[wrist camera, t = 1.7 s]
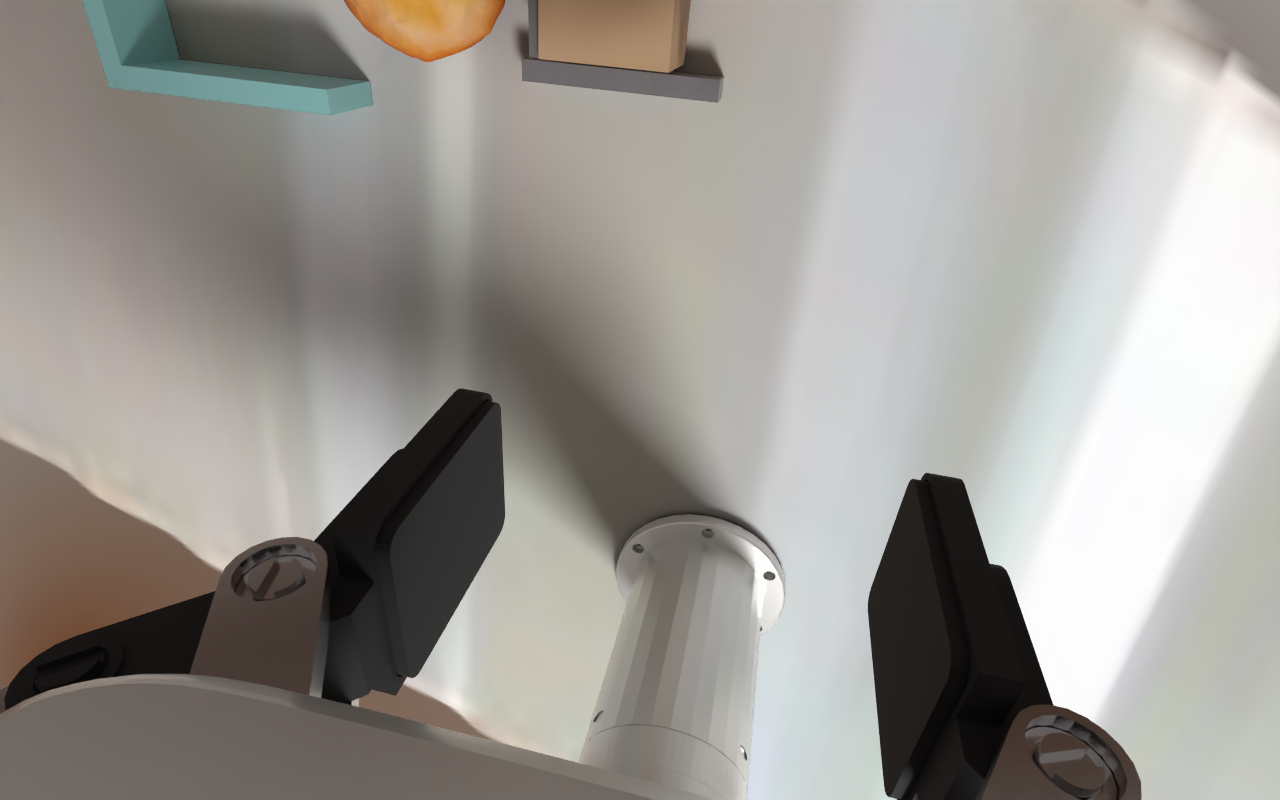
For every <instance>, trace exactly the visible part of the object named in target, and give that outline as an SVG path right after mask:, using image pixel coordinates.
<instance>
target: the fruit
mask: <svg viewBox="0 0 1280 800" xmlns="http://www.w3.org/2000/svg"><path fill="white" fill-rule="evenodd" d="M344 1H345V3H346V5H347V6H348V8H349V10H350V11H351V12H352V13H353V15H354V16H355V17H356V18H357V19H358V20H359V21H360V23H361V24H362V25H363V26H364V27H365V29H366V30H368V31H369V32H370V33H372V34H373V35H375V36H377V37H378V38H380V39H381V40H382V41H384V42H385V43H386V44H388V45H390V46H391V47H393V48H395V49H397V50H398V51H401V52H402V53H404V54H406V55H408V56H410V57H414V58H418V59H420V60H422V61H424V62H431V61H434V60H438V59H441V58H444V57H447V56H450V55H453V54H456V53H458V52H461V51H463V50H466V49H468V48H470V47H472V46H473V45H475V44H476V43H478V42H479V41H481V40H482V39H483V38H484V37H485V36H486V35H488V34H489V33H490V32H491V30H492V28H493V25H494V24H495V22H496V20H497V18H498V16H499V14H500V13H501V11H502V9H503V7H504V4H505V0H344Z"/></svg>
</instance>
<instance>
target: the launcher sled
mask: <svg viewBox="0 0 1280 800" xmlns="http://www.w3.org/2000/svg"><path fill="white" fill-rule="evenodd" d="M528 8H529V57H535V58H539V59H544V60H554V61H563V62H572V63H582V64H591V65H601V66H610V67H619V68H629V69H638V70H648V71H657V72H666V73H669V72H671V71H673V70H675V69H676V68H678V67H680V66H682V65H684V61H685V51H686V41H687V30H688V20H689V10H690V0H528Z"/></svg>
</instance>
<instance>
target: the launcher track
mask: <svg viewBox="0 0 1280 800" xmlns="http://www.w3.org/2000/svg"><path fill="white" fill-rule="evenodd" d="M723 80H724V77H720V76H711V75H701V74H692V73H683V72H673V71H671V72H669V73H666V72H657V71H648V70H638V69H629V68H619V67H610V66H601V65H591V64H582V63H572V62H563V61H554V60H544V59H539V58H535V57H528V58H523V59H522V81H529V82H538V83H547V84H556V85H565V86H574V87H583V88H592V89H601V90H610V91H619V92H628V93H637V94H646V95H655V96H664V97H673V98H682V99H691V100H699V101H708V102H717V103H718V102H719V100H720V99H721V95H722V87H723Z"/></svg>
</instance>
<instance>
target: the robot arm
mask: <svg viewBox="0 0 1280 800" xmlns="http://www.w3.org/2000/svg"><path fill="white" fill-rule="evenodd" d="M504 519H505V500H504V476H503V452H502V428H501V409H500V405H499V404H498V403H495V402H492V397H491V395H490V394H488V393H483V392H477V391H472V390H466V389H458V390H456V391H455V392H454V393H453V395H452V396H451V397H450V398H449V399H448V400H447V401H446V402H445V403H444V404H443V406H442V407H441V408H440V409H439V410H438V411H437V412H436V413H435V414H434V416H433V417H432V418H431V419H430V420H429V421H428V422H427V423H426V424H425V426H424V427H423V428H422V429H421V430H420V431H419V432H418V433H417V434H416V436H415V437H414V438H413V439H412V440H411V441H410V442H409V443H408V444H407V445H406V447H405V448H404V449H400V450H398V451H397V452H396V453H394V454H393V455H392V456H391V457H390V458H389V460H388V461H387V462H386V463H385V464H384V465H383V466H382V467H381V468H380V469H379V470H378V472H377V473H376V474H375V475H374V476H373V477H372V478H371V479H370V480H369V481H368V482H367V484H366V485H365V486H364V487H363V488H362V489H361V490H360V491H359V492H358V493H357V495H356V496H355V497H354V498H353V499H352V500H351V501H350V502H349V503H348V504H347V505H346V507H345V508H344V509H343V510H342V511H341V512H340V513H339V514H338V515H337V516H336V517H335V519H334V520H333V521H332V522H331V523H330V524H329V525H328V526H327V527H326V528H325V530H324V531H323V532H322V533H321V534H320V535H319V536H318V537H317V538H316V539H315V540H314V541H312V540H309V539H304V538H299V537H286V538H278V539H274V540H269V541H265V542H263V543H260V544H258V545H255V546H253V547H251V548H249V549H247V550H246V551H244V552H243V553H241V554H239V555H238V556H236V557H235V558H234V559H233V560H232V561H231V562H230V563H229V564H228V565H227V566H226V567H225V569H224V571H223V573H222V575H221V577H220V579H219V582H218V585H217V588H216V591H214V592H211V593H208V594H205V595H202V596H199V597H195V598H192V599H189V600H186V601H183V602H180V603H177V604H174V605H171V606H168V607H165V608H161V609H158V610H155V611H152V612H149V613H146V614H143V615H140V616H137V617H134V618H130V619H128V620H124V621H121V622H118V623H115V624H112V625H109V626H106V627H103V628H100V629H96V630H93V631H90V632H87V633H84V634H81V635H78V636H75V637H73V638H70V639H68V640H65V641H63V642H60V643H58V644H56V645H54V646H53V647H51V648H49V649H48V650H46V651H44V652H42V653H41V654H39V655H38V656H36V657H35V658H34V659H33V660H32V661H30V662H29V663H28V664H27V665H26V666H24V667H23V668H22V669H21V670H20V671H19V673H18V674H17V675H16V677H15V678H14V679H13V680H12V682H11V683H10V684H9V686H7V687H5V688H2V689H0V800H747V789H748V777H749V764H750V752H751V739H752V727H753V714H754V702H755V689H756V677H757V665H758V652H759V640H760V635H762V634H764V633H765V632H766V631H767V630H768V629H770V628H771V627H772V626H773V625H774V623H775V622H776V621H777V620H778V618H779V617H780V614H781V612H782V610H783V607H784V601H785V578H784V574H783V571H782V568H781V566H780V564H779V562H778V560H777V558H776V556H775V555H774V554H773V553H772V552H771V550H770V549H769V548H768V547H767V546H766V545H765V544H764V543H763V542H762V541H761V540H759V539H758V538H757V537H756V536H755V535H753V534H752V533H750V532H748V531H747V530H745V529H743V528H741V527H740V526H737V525H735V524H732V523H730V522H727V521H725V520H722V519H718V518H713V517H709V516H703V515H691V514H687V515H673V516H669V517H664V518H660V519H657V520H655V521H652V522H650V523H648V524H645V525H644V526H642V527H641V528H640V529H638V530H637V531H635V532H634V533H633V534H632V535H631V537H630V538H629V539H628V540H627V541H626V543H625V545H624V547H623V549H622V551H621V553H620V556H619V560H618V563H617V569H616V579H617V585H618V589H619V591H620V594H621V596H622V598H623V600H624V601H625V603H626V604H627V605H626V608H625V611H624V614H623V618H622V621H621V624H620V628H619V631H618V634H617V637H616V641H615V644H614V647H613V651H612V654H611V657H610V661H609V664H608V667H607V670H606V674H605V677H604V680H603V684H602V687H601V690H600V693H599V697H598V700H597V703H596V707H595V710H594V713H593V716H592V720H591V723H590V726H589V730H588V733H587V736H586V740H585V743H584V746H583V749H582V752H581V756H580V759H579V762H578V763H576V762H573V761H569V760H565V759H561V758H557V757H553V756H549V755H545V754H542V753H538V752H534V751H530V750H526V749H522V748H518V747H514V746H511V745H507V744H503V743H499V742H495V741H491V740H487V739H483V738H479V737H475V736H471V735H467V734H463V733H459V732H455V731H451V730H448V729H444V728H440V727H436V726H431V725H427V724H424V723H420V722H416V721H412V720H407V719H404V718H400V717H396V716H392V715H388V714H384V713H380V712H376V711H372V710H368V709H364V708H360V707H358V705H359V698H360V697H363V696H365V695H367V694H369V692H370V691H371V689H372V690H376V691H380V692H384V693H388V694H392V695H396V694H397V693H398V691H399V689H400V688H401V686H402V684H403V683H404V681H405V679H406V678H407V677H410V678H414V677H416V676H417V675H418V673H419V672H420V670H421V669H422V667H423V665H424V664H425V662H426V660H427V658H428V657H429V655H430V653H431V652H432V650H433V648H434V646H435V645H436V643H437V641H438V639H439V638H440V636H441V634H442V633H443V631H444V629H445V627H446V626H447V624H448V622H449V621H450V619H451V617H452V615H453V614H454V612H455V610H456V608H457V607H458V605H459V603H460V602H461V600H462V598H463V596H464V595H465V593H466V591H467V589H468V588H469V586H470V584H471V583H472V581H473V579H474V577H475V576H476V574H477V572H478V571H479V569H480V567H481V565H482V564H483V562H484V560H485V558H486V557H487V555H488V553H489V552H490V550H491V548H492V546H493V545H494V543H495V541H496V539H497V538H498V536H499V534H500V532H501V530H502V527H503V524H504ZM868 617H869V627H870V638H871V649H872V660H873V670H874V681H875V692H876V703H877V713H878V724H879V735H880V746H881V757H882V767H883V778H884V787H885V792H886V795H887V796H888V797H891V798H895V799H897V800H1141V798H1142V797H1141V781H1140V778H1139V776H1138V773H1137V771H1136V768H1135V766H1134V763H1133V762H1132V761H1131V759H1130V758H1129V756H1128V755H1127V754H1126V752H1125V751H1124V749H1123V748H1122V747H1121V746H1120V745H1119V744H1118V743H1117V742H1116V741H1115V740H1114V739H1113V738H1112V737H1111V736H1110V735H1109V734H1108V733H1107V732H1106V731H1105V730H1104V729H1102V728H1101V727H1099V726H1098V725H1096V724H1095V723H1093V722H1092V721H1090V720H1089V719H1088V718H1086V717H1084V716H1082V715H1079V714H1077V713H1075V712H1073V711H1071V710H1069V709H1066V708H1062V707H1057V706H1053V703H1052V700H1051V697H1050V694H1049V691H1048V688H1047V685H1046V682H1045V680H1044V677H1043V674H1042V671H1041V668H1040V665H1039V662H1038V659H1037V656H1036V653H1035V650H1034V647H1033V644H1032V642H1031V639H1030V636H1029V633H1028V630H1027V627H1026V624H1025V621H1024V618H1023V615H1022V612H1021V609H1020V607H1019V604H1018V601H1017V598H1016V595H1015V592H1014V589H1013V586H1012V583H1011V580H1010V577H1009V575H1008V573H1007V571H1006V570H1005V569H1004V568H1003V567H1002V566H998V565H993V564H989V561H988V558H987V555H986V552H985V548H984V545H983V542H982V539H981V536H980V532H979V529H978V526H977V523H976V520H975V517H974V513H973V510H972V507H971V504H970V501H969V498H968V494H967V491H966V488H965V485H964V483H963V481H962V480H961V479H958V478H952V477H947V476H941V475H936V474H930V473H926V474H924V475H923V477H922V479H921V480H916V479H912V480H910V482H909V484H908V486H907V489H906V492H905V495H904V497H903V500H902V503H901V506H900V509H899V511H898V514H897V517H896V520H895V523H894V525H893V528H892V531H891V534H890V537H889V539H888V542H887V545H886V548H885V551H884V553H883V556H882V559H881V562H880V565H879V567H878V570H877V573H876V576H875V579H874V581H873V584H872V587H871V590H870V594H869V600H868Z"/></svg>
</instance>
